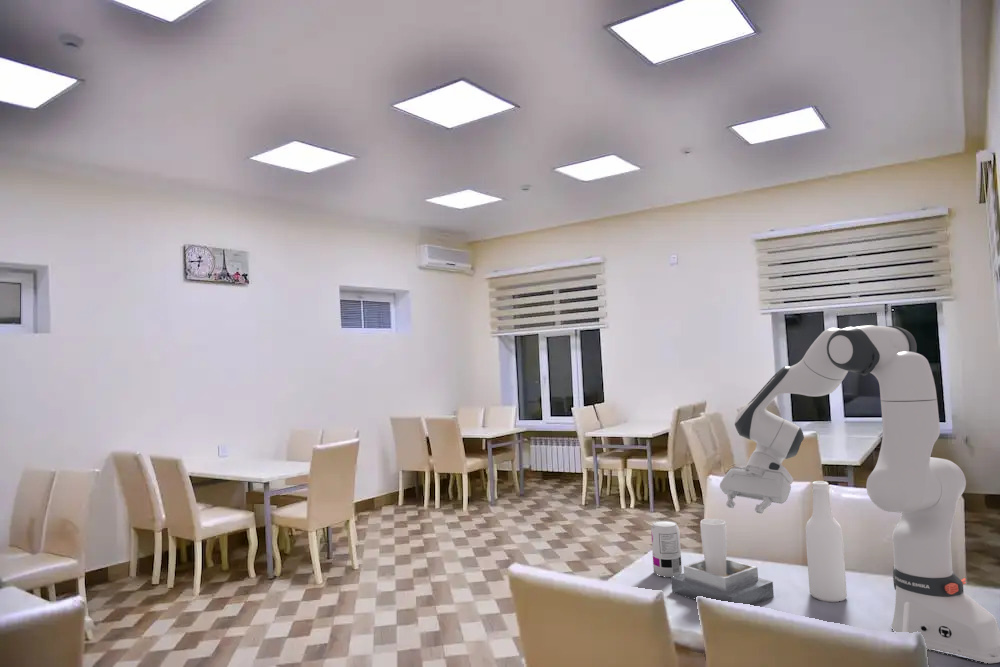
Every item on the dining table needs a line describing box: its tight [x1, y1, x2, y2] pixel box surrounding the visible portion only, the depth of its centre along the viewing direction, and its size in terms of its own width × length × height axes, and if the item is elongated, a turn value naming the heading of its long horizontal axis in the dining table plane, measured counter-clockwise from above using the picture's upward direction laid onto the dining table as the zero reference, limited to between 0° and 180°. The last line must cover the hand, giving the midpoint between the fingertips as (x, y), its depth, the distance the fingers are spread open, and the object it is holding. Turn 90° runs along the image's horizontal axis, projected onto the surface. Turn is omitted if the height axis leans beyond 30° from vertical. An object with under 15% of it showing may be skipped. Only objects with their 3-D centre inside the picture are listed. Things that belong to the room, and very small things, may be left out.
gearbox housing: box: [670, 558, 775, 606], centre depth 175 cm, size 20×17×8 cm
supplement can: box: [650, 520, 683, 578], centre depth 194 cm, size 8×8×15 cm
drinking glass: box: [699, 518, 728, 577], centre depth 177 cm, size 7×7×15 cm
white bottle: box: [804, 480, 848, 603], centre depth 170 cm, size 9×9×30 cm
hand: (743, 509), depth 183 cm, fingers open, 8 cm apart
